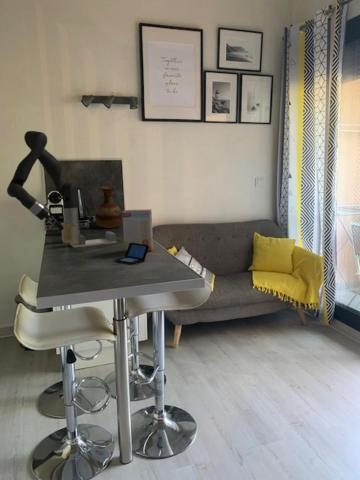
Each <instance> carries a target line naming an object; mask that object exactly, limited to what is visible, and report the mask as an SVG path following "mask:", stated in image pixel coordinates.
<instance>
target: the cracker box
mask: <svg viewBox="0 0 360 480" xmlns="http://www.w3.org/2000/svg"><path fill="white" fill-rule="evenodd" d="M152 212H153V211H152V208H151V209H147V208H146V209H124V210H121V213H122V217H123V221H122V225H123V226H122V228H123V241H124V243H123V244H124V252H126V251H127V249H128V246H129V244H130V243H137V244H144V245H149V249H148V252H152V251H153V250H154V233H153V218H152V217H153V216H152V215H153V213H152Z"/></svg>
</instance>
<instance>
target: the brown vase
mask: <svg viewBox="0 0 360 480" xmlns="http://www.w3.org/2000/svg"><path fill="white" fill-rule="evenodd" d="M99 188H100V190H101V191H102V192H103V197H104V198H103V202H102V203H101V204H100V205H99V206H98V207H97V209H96V212H95V216H94V219H95V220H94V221H95V224H96V226H99V227H102V228H104V229H112V228H117V227H120V226H121V225H123V213H122V210H121V208H120V207H119V206H118V204H117V203H115V202H114V200H113V192H114V191H115V189H116V186H114V185H105V186H101V187H99Z"/></svg>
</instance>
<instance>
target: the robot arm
mask: <svg viewBox="0 0 360 480" xmlns="http://www.w3.org/2000/svg"><path fill="white" fill-rule="evenodd" d="M23 138H24V139H23V140H24V142H25V144H26V146H27V147H28V148H29V150H30V151H29V153H28V154H27V155H26V156H25V157H23V159H22V160H21V161H20V162H19V164H18V165H17V166H16V169H15V172H14V174H13V176H12V179H11V181H10V182H9V185H8V187H7V188H6V192H7V195H8V196H9V197H11V198H15V199H16V200H18V201H19V202H20V204H21V205H22V206H23V207H24V208H26V209H27V210H29V212H30V213H32V214H33V216H35V217H37V219H39V220H40V221H43V220H46V221H47V222H48V223H50V224H51V225H52V226H54V227H56V228H58V229H59V230H60V231H61V230H63V229H64V227H63V226H61V223H59V222H58V220H57V219H56V218H54V216H53V215H51V214H50V212H51V210H50V209H49V208H48V207H47V206H45V205H44V204H43V203H42V202H40V201H39V200H37V199H36V198H35V197H34V196H33V195H31V194H30V193H29V192H28V191H27V190H26V189H25V188H24V184H25V183H26V182H27V180H28V179H29V176H30V173H31V171H32V168H33V167H34V165H35V164H36V162H37V161H39V162H40V164H41V166H42V167H43V169H44V170H45V172H46V174H47V175H48V177H49V178H50V179H51V181H52V182H53V184H54V186H55V188H56V191H57V192H58V194H59V195H60V196H61V197H63V198H69V199H68V201H66V202H65V203H64V202H63V204H62V209H63V210H62V211H63V223H69V222H70V223H71V225H77V226H78V234H81V233H80V220H79V209H78V205H79V192H78V186H77V184H76V183H74V182H67V183H66V182H64V181H63V179H62V174H63V168H62V165H61V164H60V162H59V161H58V159H57V157H55V156H54V155H53V153H52V154H51V152H50V151H48V150H47V149H46V146H47V143H48V137H47V135H46V133H44V132H42V131H36V130H27V131H26V132H25V133H24V137H23ZM49 214H50V215H49Z"/></svg>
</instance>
